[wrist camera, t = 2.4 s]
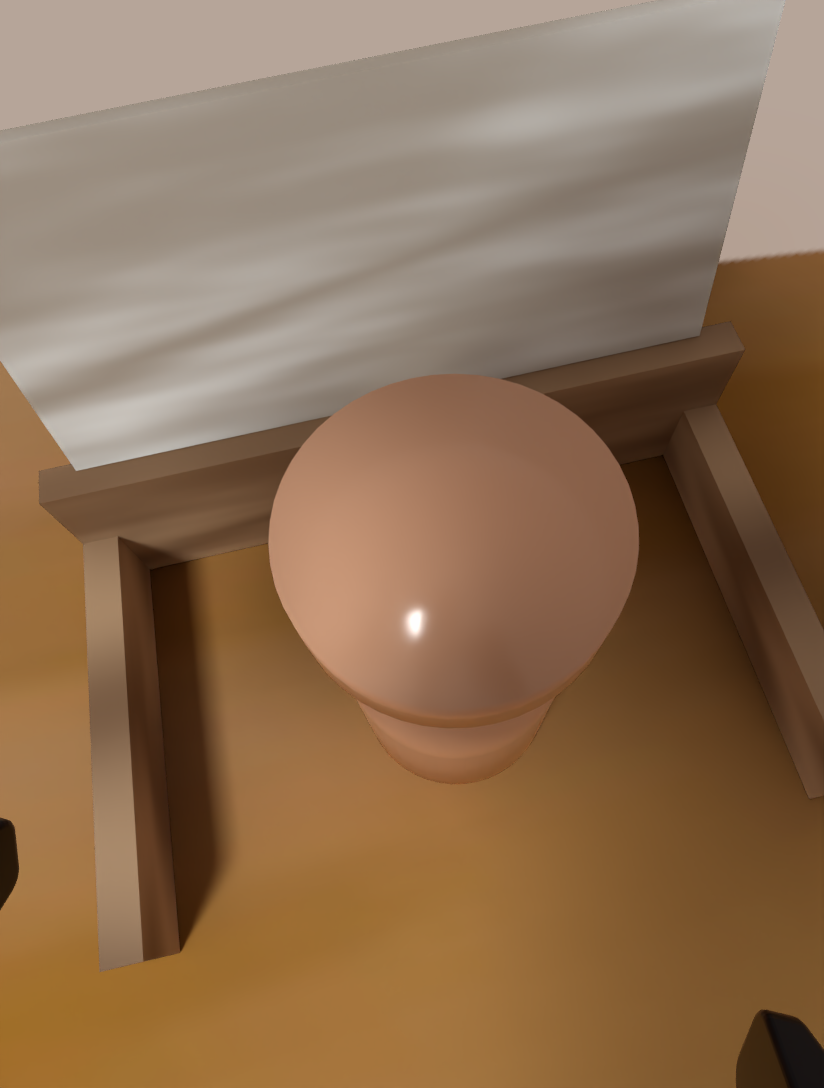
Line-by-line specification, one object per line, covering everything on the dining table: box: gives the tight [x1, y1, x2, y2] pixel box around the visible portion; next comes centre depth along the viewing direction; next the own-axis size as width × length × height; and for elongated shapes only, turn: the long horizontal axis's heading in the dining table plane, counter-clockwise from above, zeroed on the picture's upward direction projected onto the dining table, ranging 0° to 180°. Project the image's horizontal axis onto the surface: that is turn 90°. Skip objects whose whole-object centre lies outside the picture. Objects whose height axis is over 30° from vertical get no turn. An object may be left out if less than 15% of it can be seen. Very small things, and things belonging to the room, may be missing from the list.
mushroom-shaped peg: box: [268, 374, 639, 784], centre depth 17 cm, size 6×6×11 cm
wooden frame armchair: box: [0, 0, 824, 972], centre depth 17 cm, size 14×19×13 cm
